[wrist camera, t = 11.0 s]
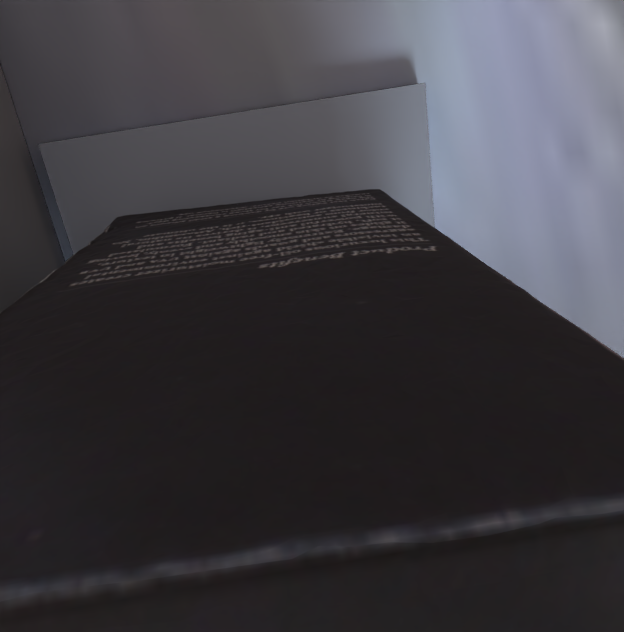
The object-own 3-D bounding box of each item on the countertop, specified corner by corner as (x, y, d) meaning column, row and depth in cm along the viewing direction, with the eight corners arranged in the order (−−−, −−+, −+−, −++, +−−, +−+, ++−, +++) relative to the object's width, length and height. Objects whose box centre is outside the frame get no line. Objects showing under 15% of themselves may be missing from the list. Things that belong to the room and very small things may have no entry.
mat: (183, 577, 18) (181, 592, 18) (47, 142, 13) (37, 144, 12) (449, 531, 18) (454, 544, 18) (418, 83, 13) (425, 82, 13)
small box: (416, 549, 16) (650, 1260, 6) (191, 580, 16) (64, 1366, 6) (400, 179, 12) (981, 507, 2) (102, 213, 12) (-699, 738, 2)
